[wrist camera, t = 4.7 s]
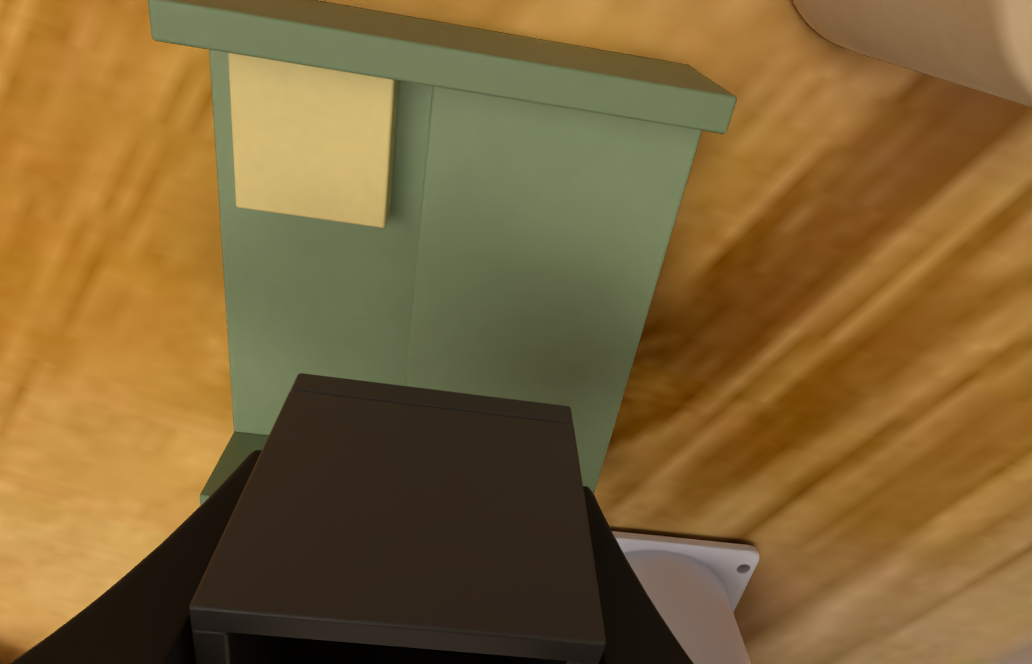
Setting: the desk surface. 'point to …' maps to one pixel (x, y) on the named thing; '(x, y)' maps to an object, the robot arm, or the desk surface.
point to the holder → (405, 536)
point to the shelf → (457, 216)
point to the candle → (937, 38)
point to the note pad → (312, 140)
